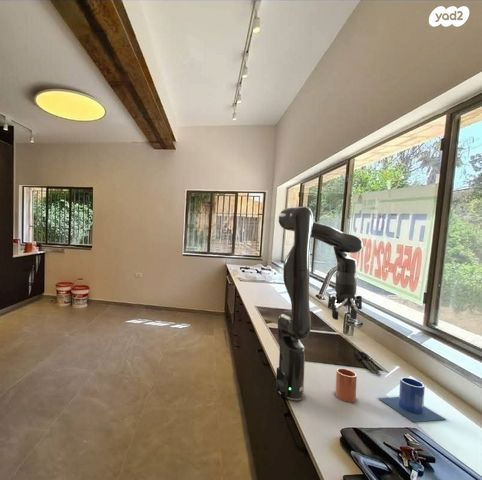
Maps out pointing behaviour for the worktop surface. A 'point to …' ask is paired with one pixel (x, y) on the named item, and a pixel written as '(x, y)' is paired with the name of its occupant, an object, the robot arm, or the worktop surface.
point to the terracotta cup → (346, 385)
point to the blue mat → (425, 416)
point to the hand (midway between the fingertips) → (344, 319)
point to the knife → (359, 355)
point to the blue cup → (411, 395)
